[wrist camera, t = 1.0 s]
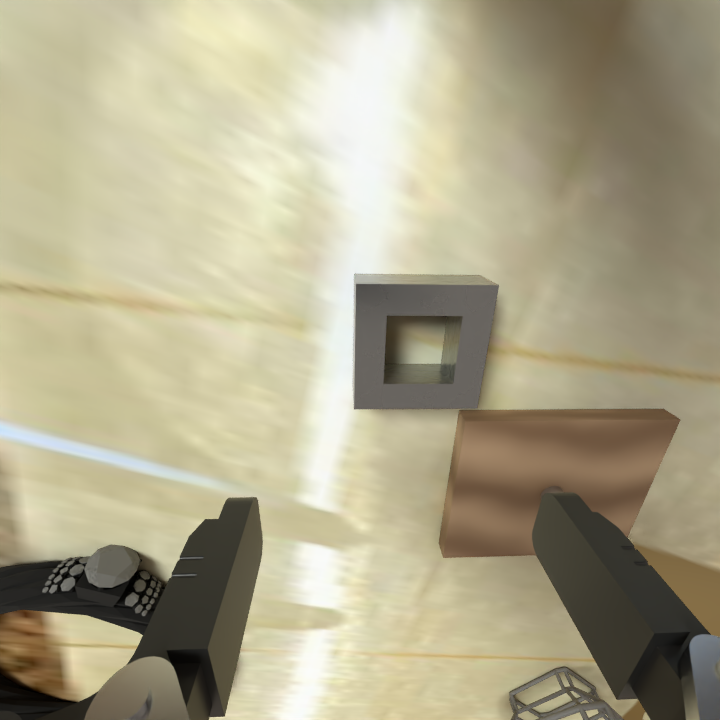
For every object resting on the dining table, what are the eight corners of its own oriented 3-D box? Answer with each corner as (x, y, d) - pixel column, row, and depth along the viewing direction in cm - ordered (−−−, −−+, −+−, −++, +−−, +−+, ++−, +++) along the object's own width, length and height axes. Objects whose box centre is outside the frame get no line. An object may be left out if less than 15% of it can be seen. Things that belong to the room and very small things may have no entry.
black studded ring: (-107, 733, 35) (-110, 533, 25) (-66, 685, 38) (-54, 491, 28) (175, 774, 41) (268, 626, 30) (188, 728, 44) (276, 582, 34)
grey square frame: (354, 273, 22) (355, 283, 19) (479, 275, 23) (498, 285, 20) (352, 387, 25) (354, 409, 23) (462, 386, 26) (477, 408, 23)
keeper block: (459, 410, 27) (487, 459, 21) (663, 408, 27) (737, 456, 22) (438, 542, 32) (457, 606, 27) (608, 538, 33) (657, 599, 28)
